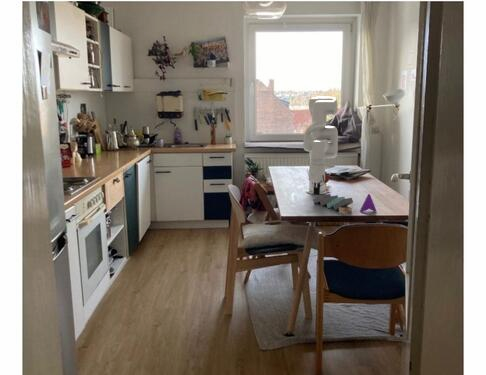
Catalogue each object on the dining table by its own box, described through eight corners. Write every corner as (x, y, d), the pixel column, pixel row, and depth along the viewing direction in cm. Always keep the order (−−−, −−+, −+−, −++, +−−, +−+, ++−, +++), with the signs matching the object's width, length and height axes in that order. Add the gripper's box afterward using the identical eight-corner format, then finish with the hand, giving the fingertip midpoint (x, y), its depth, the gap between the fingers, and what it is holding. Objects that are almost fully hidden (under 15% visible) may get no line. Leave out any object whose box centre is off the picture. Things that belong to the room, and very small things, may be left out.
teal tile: (326, 204, 241) (336, 197, 233) (333, 202, 243) (344, 196, 235) (327, 208, 240) (338, 202, 232) (335, 207, 243) (345, 201, 234)
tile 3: (333, 205, 236) (344, 198, 228) (340, 204, 238) (351, 197, 230) (334, 209, 235) (345, 203, 227) (342, 208, 238) (353, 202, 229)
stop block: (347, 211, 235) (348, 205, 234) (351, 212, 232) (351, 207, 231) (338, 212, 232) (339, 207, 231) (342, 213, 229) (343, 208, 229)
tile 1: (312, 199, 251) (323, 194, 243) (319, 198, 254) (330, 193, 245) (314, 203, 251) (324, 199, 242) (321, 202, 253) (331, 198, 245)
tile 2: (319, 201, 246) (330, 196, 238) (326, 200, 248) (337, 195, 240) (321, 206, 245) (331, 200, 237) (328, 205, 248) (338, 199, 239)
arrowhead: (366, 219, 235) (380, 206, 235) (368, 220, 234) (381, 206, 234) (355, 207, 233) (368, 193, 233) (356, 207, 231) (369, 194, 231)
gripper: (304, 161, 253) (303, 192, 257) (320, 164, 240) (319, 197, 244) (315, 160, 257) (313, 191, 260) (331, 163, 244) (330, 196, 248)
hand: (316, 194), depth 252 cm, fingers closed
